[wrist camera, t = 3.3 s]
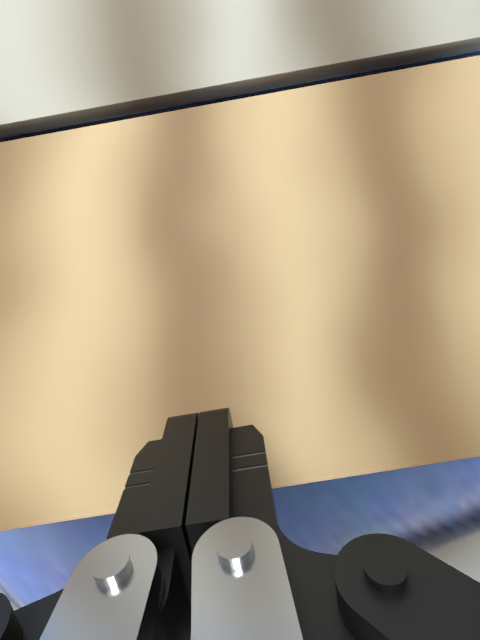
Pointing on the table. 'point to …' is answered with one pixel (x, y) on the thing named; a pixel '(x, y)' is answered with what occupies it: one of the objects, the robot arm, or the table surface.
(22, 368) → the honey oak plank
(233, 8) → the grey-washed plank
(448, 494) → the table surface
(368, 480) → the table surface
